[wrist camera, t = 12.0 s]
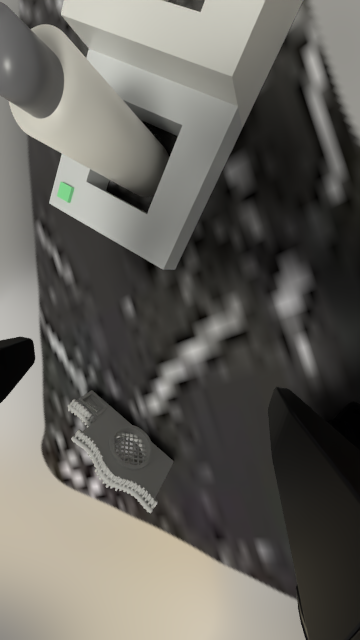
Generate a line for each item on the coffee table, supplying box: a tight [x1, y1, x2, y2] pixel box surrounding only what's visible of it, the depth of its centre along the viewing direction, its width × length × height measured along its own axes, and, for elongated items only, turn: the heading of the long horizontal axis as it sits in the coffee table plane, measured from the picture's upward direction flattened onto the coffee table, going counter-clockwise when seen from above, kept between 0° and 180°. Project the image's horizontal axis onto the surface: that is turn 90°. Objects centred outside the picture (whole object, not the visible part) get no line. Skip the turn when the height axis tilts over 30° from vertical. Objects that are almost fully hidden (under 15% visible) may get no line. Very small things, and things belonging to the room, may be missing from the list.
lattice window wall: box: [68, 390, 174, 513], centre depth 23 cm, size 12×2×6 cm, turn 58°
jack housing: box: [49, 0, 303, 270], centre depth 16 cm, size 12×22×5 cm, turn 152°
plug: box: [0, 2, 169, 197], centre depth 15 cm, size 4×4×12 cm
